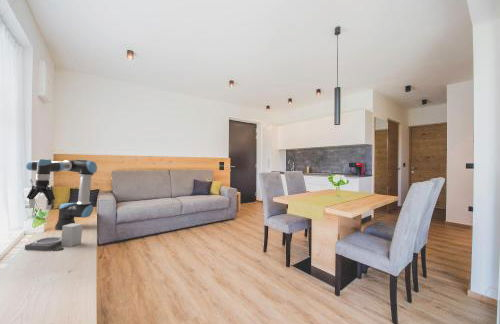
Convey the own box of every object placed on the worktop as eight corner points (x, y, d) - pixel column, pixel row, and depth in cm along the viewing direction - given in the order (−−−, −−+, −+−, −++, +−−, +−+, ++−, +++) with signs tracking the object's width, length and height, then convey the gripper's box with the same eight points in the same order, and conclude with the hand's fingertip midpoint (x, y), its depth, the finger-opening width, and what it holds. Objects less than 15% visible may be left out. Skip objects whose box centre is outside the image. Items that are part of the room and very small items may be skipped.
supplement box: (81, 243, 173) (83, 223, 174) (71, 247, 164) (73, 226, 165) (71, 242, 174) (72, 222, 175) (60, 245, 165) (62, 225, 166)
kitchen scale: (47, 240, 173) (48, 235, 173) (69, 241, 174) (69, 236, 174) (24, 249, 154) (25, 243, 154) (48, 250, 155) (49, 244, 155)
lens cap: (57, 248, 161) (57, 247, 161) (65, 248, 161) (65, 247, 161) (50, 251, 155) (50, 250, 155) (59, 251, 155) (59, 250, 155)
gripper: (21, 178, 161) (18, 208, 160) (53, 181, 158) (49, 211, 157) (33, 178, 168) (30, 206, 167) (62, 180, 166) (60, 209, 165)
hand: (39, 208), depth 162 cm, fingers open, 13 cm apart
